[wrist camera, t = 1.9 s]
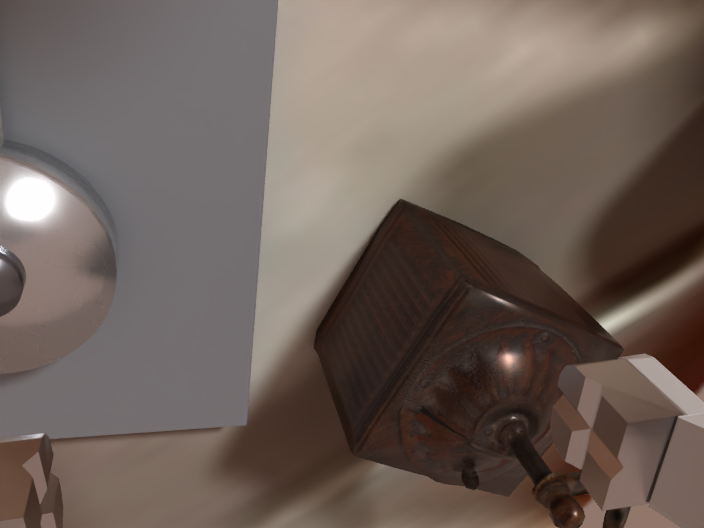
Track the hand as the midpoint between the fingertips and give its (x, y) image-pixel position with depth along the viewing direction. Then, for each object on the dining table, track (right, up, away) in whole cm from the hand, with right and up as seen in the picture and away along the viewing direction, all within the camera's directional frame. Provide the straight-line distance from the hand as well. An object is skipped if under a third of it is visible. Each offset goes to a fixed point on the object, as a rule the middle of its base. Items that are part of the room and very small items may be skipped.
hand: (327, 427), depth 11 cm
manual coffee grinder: (+7, -1, +30) cm, 31 cm away
